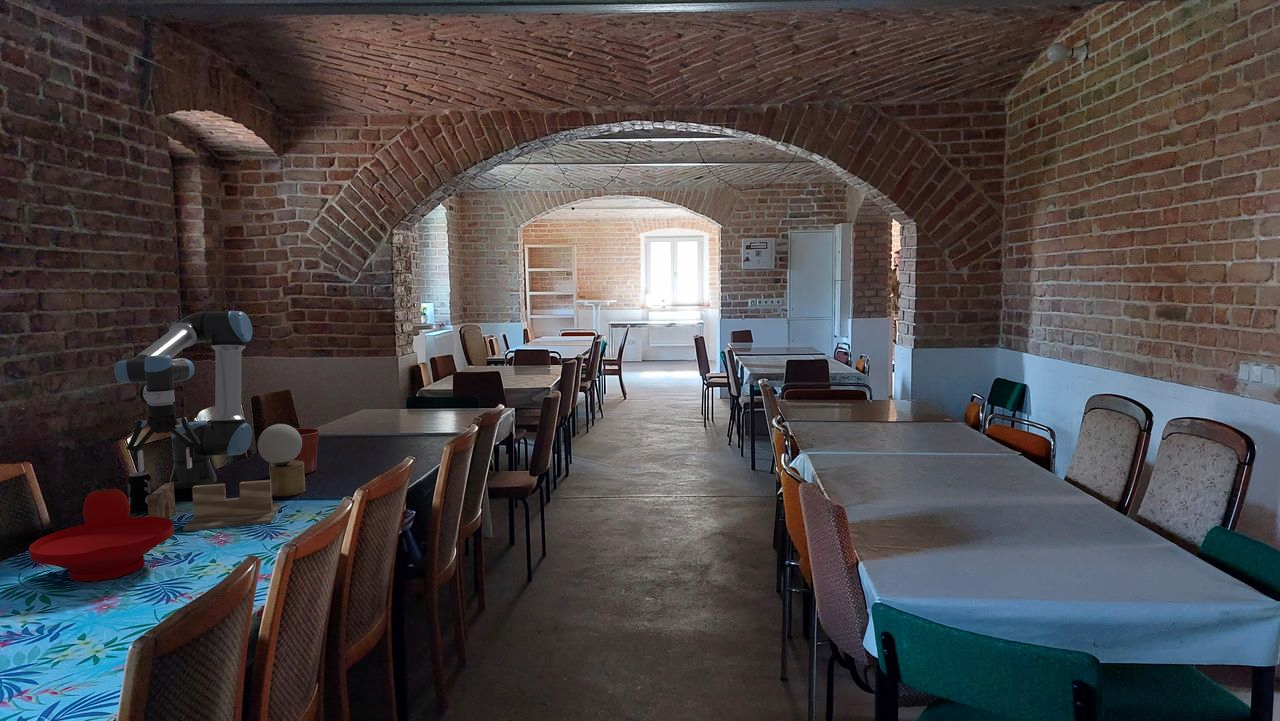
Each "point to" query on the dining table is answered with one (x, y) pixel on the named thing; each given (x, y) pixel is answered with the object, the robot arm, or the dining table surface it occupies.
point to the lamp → (283, 459)
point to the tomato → (105, 506)
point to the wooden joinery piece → (232, 506)
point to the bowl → (102, 547)
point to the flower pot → (308, 448)
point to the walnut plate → (162, 502)
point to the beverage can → (139, 490)
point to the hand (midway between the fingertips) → (165, 469)
